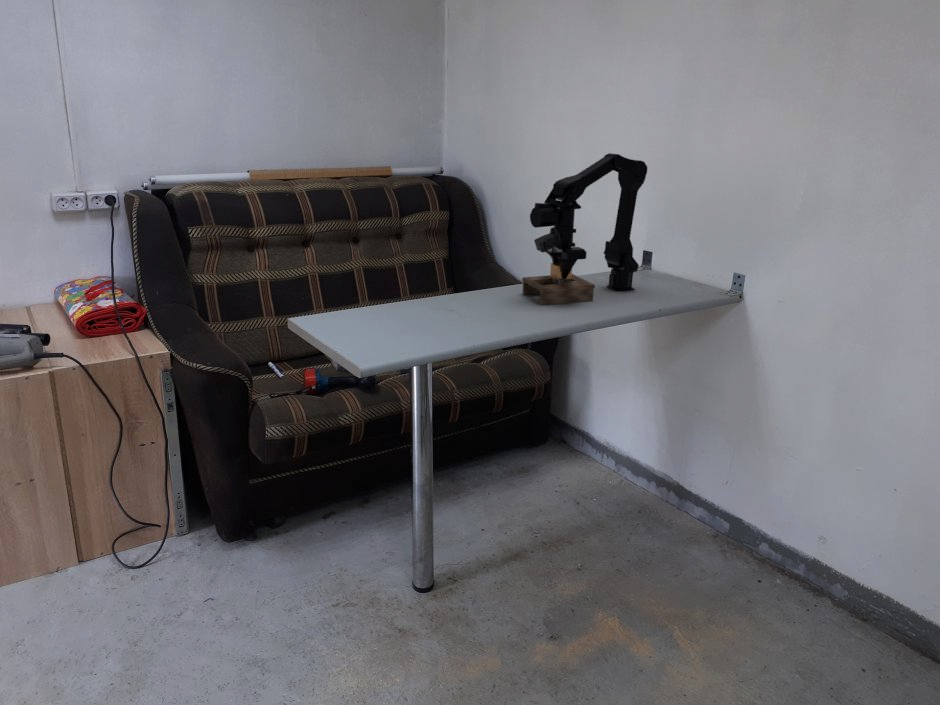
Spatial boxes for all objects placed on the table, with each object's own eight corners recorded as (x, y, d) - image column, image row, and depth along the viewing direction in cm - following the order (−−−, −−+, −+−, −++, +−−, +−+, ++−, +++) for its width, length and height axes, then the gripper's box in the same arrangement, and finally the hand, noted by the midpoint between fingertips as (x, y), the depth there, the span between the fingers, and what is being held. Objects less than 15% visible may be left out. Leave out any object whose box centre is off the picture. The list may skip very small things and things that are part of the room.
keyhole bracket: (571, 289, 225) (572, 273, 223) (593, 301, 212) (594, 284, 211) (521, 293, 219) (522, 277, 217) (541, 305, 207) (542, 288, 205)
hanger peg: (563, 289, 218) (565, 261, 216) (571, 293, 214) (573, 265, 211) (548, 290, 217) (550, 262, 214) (556, 294, 212) (557, 266, 210)
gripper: (525, 221, 214) (523, 272, 219) (553, 232, 198) (550, 286, 203) (558, 219, 218) (556, 269, 223) (589, 229, 201) (585, 283, 207)
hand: (560, 277), depth 214 cm, fingers closed on hanger peg, 4 cm apart
